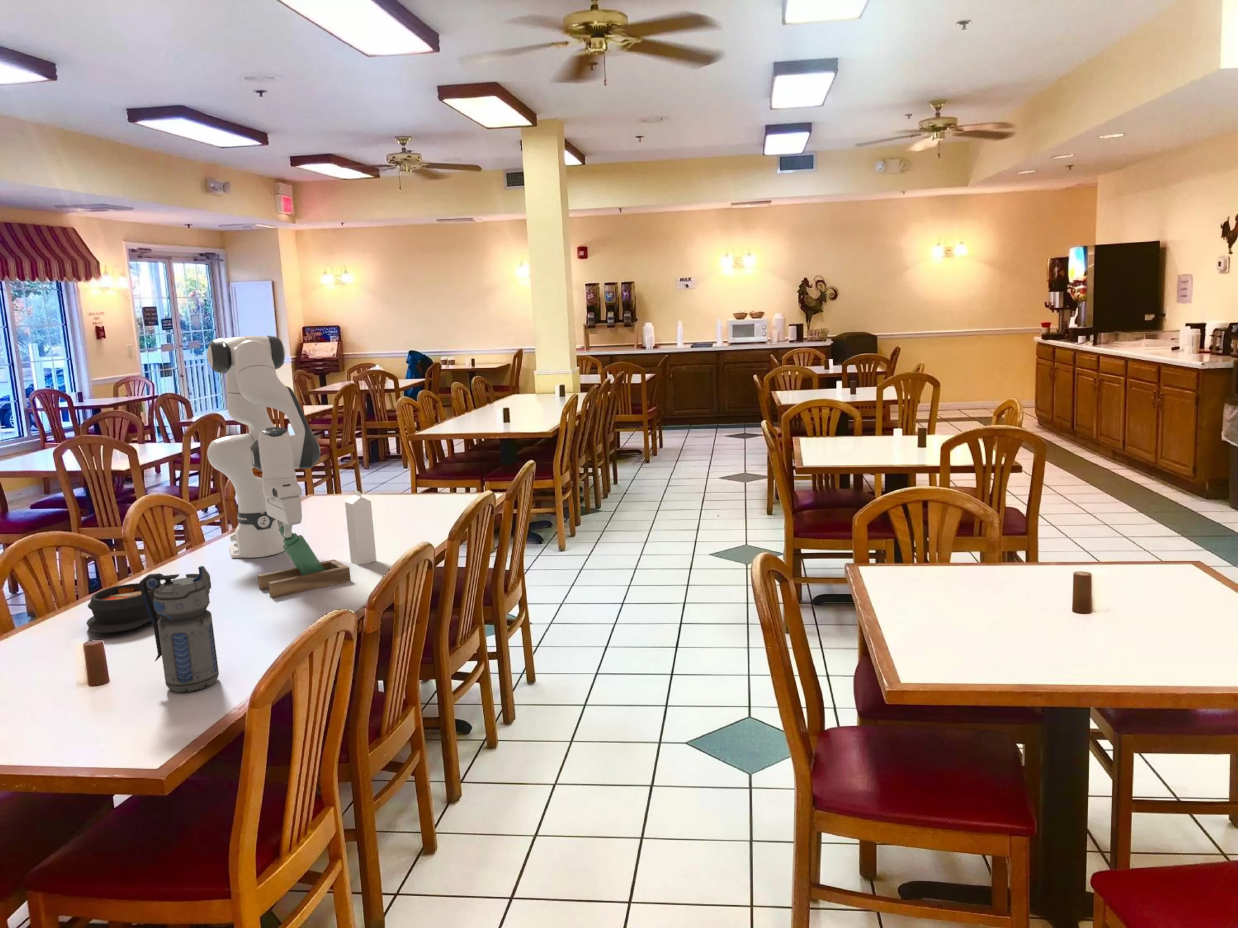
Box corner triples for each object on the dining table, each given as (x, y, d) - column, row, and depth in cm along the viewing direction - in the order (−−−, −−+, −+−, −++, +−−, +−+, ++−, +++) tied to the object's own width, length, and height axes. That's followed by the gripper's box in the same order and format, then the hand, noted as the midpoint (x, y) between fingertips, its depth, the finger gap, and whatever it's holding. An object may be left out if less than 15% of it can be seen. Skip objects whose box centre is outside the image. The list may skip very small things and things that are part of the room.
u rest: (259, 588, 262) (257, 574, 262) (335, 572, 275) (334, 559, 275) (272, 598, 253) (270, 583, 252) (350, 580, 266) (349, 567, 265)
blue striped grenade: (162, 679, 198) (146, 565, 194) (228, 672, 200) (214, 559, 196) (147, 698, 188) (130, 579, 184) (216, 691, 191) (201, 572, 186)
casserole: (109, 610, 249) (104, 580, 247) (182, 604, 251) (178, 574, 250) (69, 643, 224) (64, 610, 223) (151, 636, 227) (146, 602, 225)
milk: (358, 565, 282) (350, 494, 278) (350, 561, 287) (343, 491, 283) (377, 561, 286) (370, 490, 282) (369, 557, 291) (362, 488, 287)
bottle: (304, 581, 267) (270, 531, 260) (322, 569, 270) (288, 519, 262) (311, 586, 262) (276, 535, 255) (329, 573, 265) (295, 522, 257)
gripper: (257, 484, 263) (262, 531, 266) (280, 493, 247) (285, 544, 249) (279, 480, 267) (285, 527, 269) (303, 489, 251) (309, 539, 253)
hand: (285, 535), depth 259 cm, fingers closed on bottle, 3 cm apart
